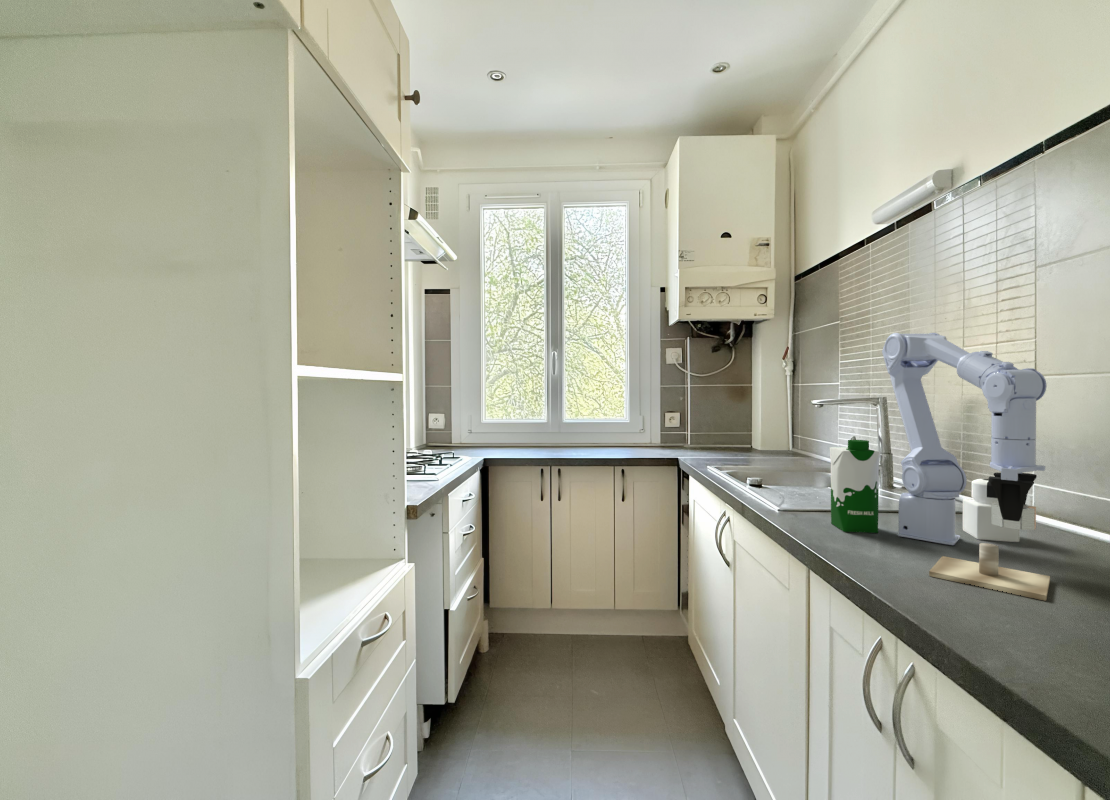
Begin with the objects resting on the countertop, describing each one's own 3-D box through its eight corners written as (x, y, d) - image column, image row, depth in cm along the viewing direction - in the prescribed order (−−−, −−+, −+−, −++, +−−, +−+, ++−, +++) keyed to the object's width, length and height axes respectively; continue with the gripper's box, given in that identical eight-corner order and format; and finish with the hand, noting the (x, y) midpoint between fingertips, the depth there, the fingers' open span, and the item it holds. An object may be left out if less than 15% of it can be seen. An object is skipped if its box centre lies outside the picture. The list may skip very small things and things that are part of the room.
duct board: (929, 575, 84) (929, 543, 84) (942, 560, 92) (942, 530, 91) (1046, 601, 74) (1046, 563, 74) (1050, 581, 81) (1050, 547, 81)
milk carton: (841, 533, 109) (841, 441, 109) (825, 522, 118) (825, 437, 118) (884, 534, 108) (885, 441, 108) (865, 523, 117) (865, 437, 117)
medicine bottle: (1002, 533, 108) (1002, 477, 108) (1020, 542, 102) (1020, 483, 101) (961, 530, 111) (962, 476, 110) (977, 539, 104) (977, 482, 104)
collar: (990, 525, 87) (990, 505, 87) (993, 519, 91) (993, 500, 91) (1034, 531, 83) (1034, 510, 83) (1036, 525, 87) (1036, 505, 87)
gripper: (1043, 443, 79) (1043, 529, 79) (1047, 437, 89) (1046, 513, 89) (984, 440, 84) (984, 521, 84) (994, 435, 94) (993, 507, 94)
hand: (1012, 516), depth 87 cm, fingers closed on collar, 6 cm apart
